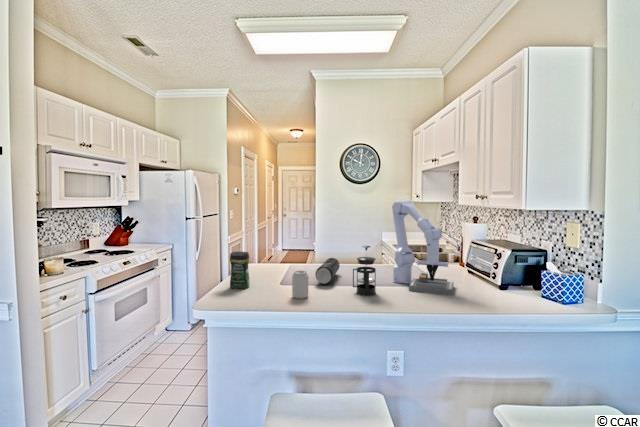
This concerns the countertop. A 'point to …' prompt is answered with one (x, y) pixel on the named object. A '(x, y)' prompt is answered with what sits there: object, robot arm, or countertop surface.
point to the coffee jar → (239, 270)
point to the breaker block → (432, 285)
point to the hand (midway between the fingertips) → (432, 280)
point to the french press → (365, 276)
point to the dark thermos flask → (327, 271)
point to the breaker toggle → (422, 278)
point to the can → (300, 284)
